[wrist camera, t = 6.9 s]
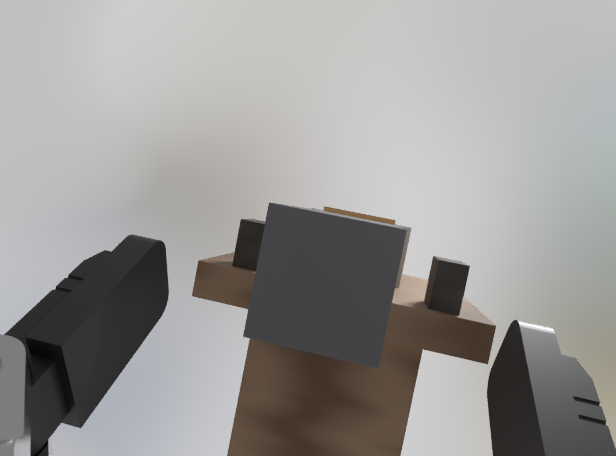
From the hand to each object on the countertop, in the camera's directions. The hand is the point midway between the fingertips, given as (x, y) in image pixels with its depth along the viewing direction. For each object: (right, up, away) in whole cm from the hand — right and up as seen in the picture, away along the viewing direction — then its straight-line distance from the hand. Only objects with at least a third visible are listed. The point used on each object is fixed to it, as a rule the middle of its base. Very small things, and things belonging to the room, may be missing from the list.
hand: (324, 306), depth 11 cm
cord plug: (+1, -1, +9) cm, 9 cm away
